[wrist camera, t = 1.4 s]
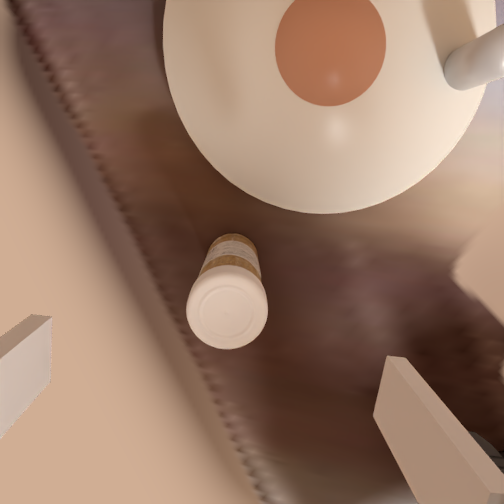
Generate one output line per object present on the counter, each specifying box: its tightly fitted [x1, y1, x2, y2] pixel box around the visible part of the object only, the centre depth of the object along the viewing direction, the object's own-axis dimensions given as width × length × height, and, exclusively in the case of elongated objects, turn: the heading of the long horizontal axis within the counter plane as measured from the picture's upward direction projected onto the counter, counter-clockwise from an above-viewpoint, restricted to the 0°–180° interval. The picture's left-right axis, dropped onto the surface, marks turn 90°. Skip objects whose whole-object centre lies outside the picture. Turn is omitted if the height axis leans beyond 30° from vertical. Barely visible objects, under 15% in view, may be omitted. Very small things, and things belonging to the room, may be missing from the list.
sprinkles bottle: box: [186, 233, 268, 349], centre depth 28 cm, size 5×5×13 cm
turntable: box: [163, 0, 504, 214], centre depth 27 cm, size 24×24×7 cm
